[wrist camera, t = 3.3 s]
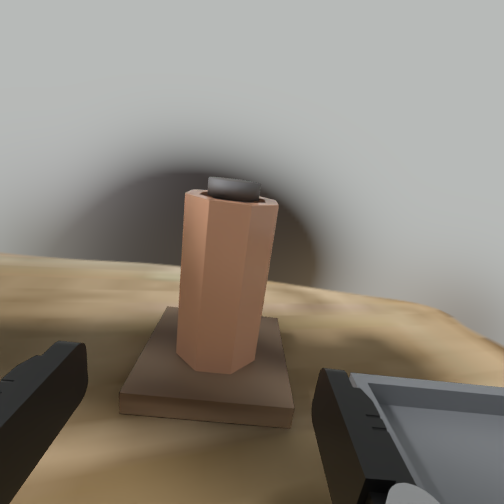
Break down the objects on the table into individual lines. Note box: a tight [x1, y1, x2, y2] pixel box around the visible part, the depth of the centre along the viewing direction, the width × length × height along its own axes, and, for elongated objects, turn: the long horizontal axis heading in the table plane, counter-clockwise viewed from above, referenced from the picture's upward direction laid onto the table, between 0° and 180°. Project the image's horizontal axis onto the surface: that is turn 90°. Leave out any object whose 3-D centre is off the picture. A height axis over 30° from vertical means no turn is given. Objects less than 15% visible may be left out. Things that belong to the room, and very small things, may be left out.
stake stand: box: [119, 177, 295, 428], centre depth 19 cm, size 10×10×14 cm
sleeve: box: [176, 190, 279, 374], centre depth 20 cm, size 7×6×11 cm
